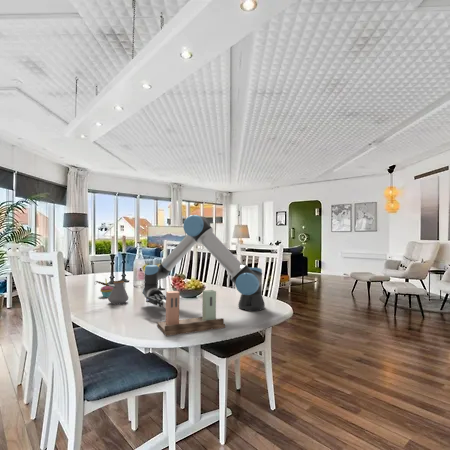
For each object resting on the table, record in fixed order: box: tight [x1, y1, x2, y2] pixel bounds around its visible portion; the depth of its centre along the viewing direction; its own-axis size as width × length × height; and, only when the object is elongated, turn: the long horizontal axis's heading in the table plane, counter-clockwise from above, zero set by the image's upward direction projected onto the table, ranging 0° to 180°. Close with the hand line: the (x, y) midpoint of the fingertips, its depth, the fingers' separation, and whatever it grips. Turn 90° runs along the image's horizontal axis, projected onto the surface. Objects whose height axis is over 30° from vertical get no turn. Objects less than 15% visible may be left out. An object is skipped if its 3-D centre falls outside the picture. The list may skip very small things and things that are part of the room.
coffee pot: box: [94, 280, 129, 305], centre depth 177 cm, size 21×12×15 cm, turn 145°
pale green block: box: [201, 289, 217, 321], centre depth 138 cm, size 5×4×14 cm
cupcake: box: [100, 278, 113, 298], centre depth 199 cm, size 9×8×12 cm
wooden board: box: [156, 317, 226, 337], centre depth 136 cm, size 27×15×4 cm, turn 116°
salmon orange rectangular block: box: [165, 290, 181, 325], centre depth 135 cm, size 5×4×14 cm
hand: (166, 305), depth 143 cm, fingers closed
